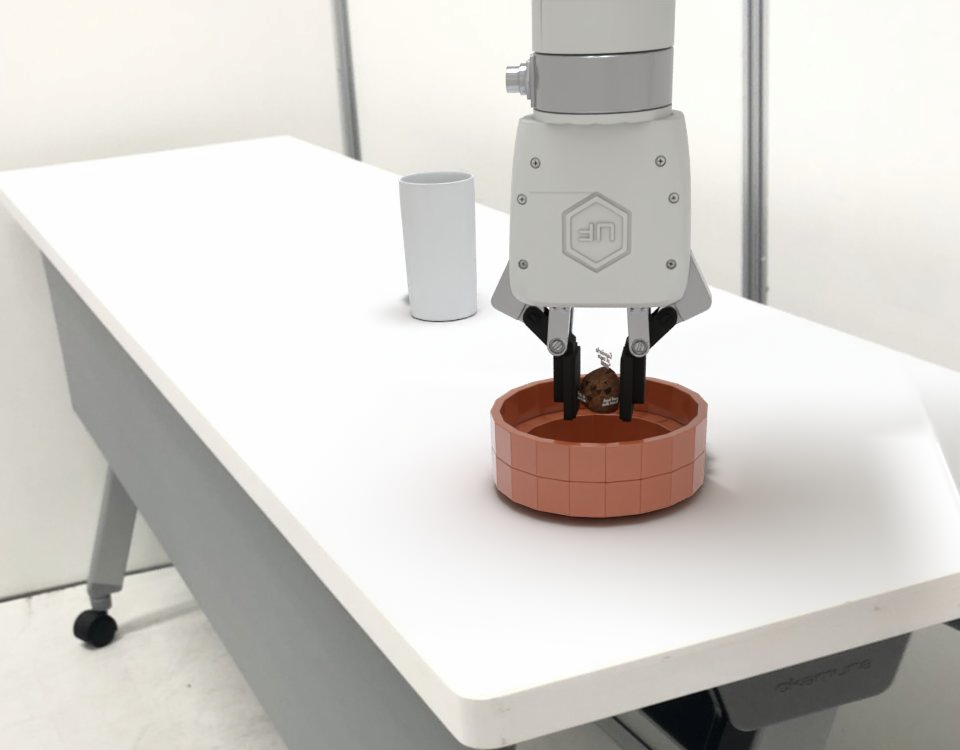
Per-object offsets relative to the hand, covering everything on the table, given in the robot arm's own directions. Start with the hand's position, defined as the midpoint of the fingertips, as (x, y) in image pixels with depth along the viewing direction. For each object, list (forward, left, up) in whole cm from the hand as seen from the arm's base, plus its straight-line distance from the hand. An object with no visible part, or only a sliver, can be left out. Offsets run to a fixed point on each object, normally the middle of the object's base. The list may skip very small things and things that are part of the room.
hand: (599, 411), depth 74 cm
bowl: (0, 0, -5) cm, 5 cm away
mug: (+18, -41, -5) cm, 45 cm away
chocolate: (0, 0, 0) cm, 0 cm away
